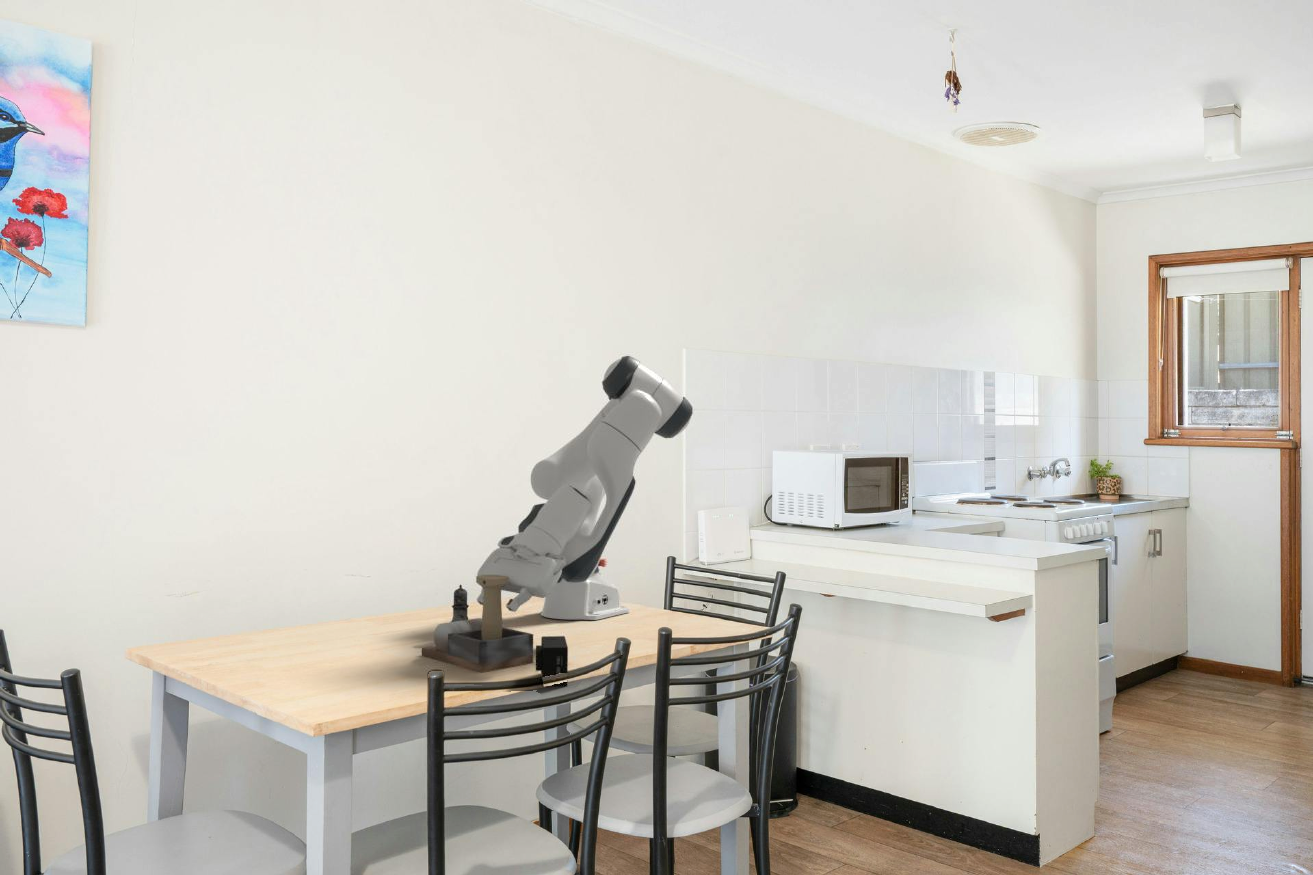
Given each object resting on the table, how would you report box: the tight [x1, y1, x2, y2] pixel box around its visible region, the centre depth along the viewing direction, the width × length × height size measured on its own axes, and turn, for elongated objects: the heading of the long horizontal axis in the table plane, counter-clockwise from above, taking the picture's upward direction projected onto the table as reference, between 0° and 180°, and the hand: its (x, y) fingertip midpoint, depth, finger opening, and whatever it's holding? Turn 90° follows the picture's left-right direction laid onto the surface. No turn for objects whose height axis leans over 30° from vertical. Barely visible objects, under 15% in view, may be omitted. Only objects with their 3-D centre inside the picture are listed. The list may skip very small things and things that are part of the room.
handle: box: [475, 575, 509, 641], centre depth 196 cm, size 5×6×15 cm
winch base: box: [421, 617, 534, 673], centre depth 199 cm, size 12×20×7 cm, turn 46°
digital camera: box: [535, 635, 569, 688], centre depth 183 cm, size 10×5×7 cm, turn 8°
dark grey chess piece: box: [450, 584, 470, 622], centre depth 217 cm, size 6×6×12 cm
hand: (495, 606), depth 197 cm, fingers open, 8 cm apart
